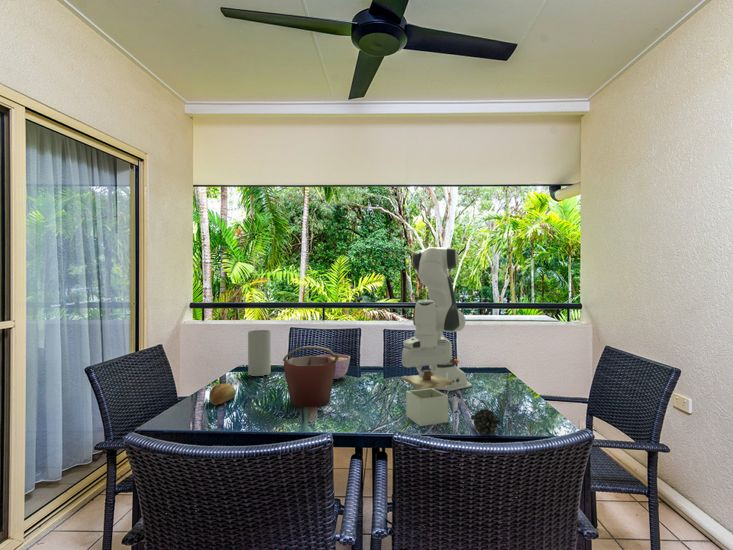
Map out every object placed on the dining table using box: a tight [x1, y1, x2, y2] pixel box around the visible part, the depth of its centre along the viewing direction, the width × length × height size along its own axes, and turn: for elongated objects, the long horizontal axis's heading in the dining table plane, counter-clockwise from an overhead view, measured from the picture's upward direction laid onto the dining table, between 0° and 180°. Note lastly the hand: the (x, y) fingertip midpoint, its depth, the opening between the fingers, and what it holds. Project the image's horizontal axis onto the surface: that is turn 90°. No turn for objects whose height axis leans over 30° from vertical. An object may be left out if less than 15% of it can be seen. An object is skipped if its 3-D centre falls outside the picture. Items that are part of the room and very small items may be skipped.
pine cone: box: [470, 408, 501, 435], centre depth 149 cm, size 9×8×15 cm
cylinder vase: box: [247, 329, 272, 377], centre depth 237 cm, size 12×12×25 cm
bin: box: [405, 388, 449, 427], centre depth 161 cm, size 12×12×10 cm
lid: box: [402, 369, 452, 390], centre depth 161 cm, size 14×14×5 cm
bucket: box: [282, 345, 339, 409], centre depth 183 cm, size 24×22×25 cm
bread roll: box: [209, 383, 236, 406], centre depth 186 cm, size 10×15×8 cm, turn 172°
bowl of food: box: [318, 353, 351, 380], centre depth 227 cm, size 20×20×12 cm
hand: (426, 376), depth 161 cm, fingers closed on lid, 3 cm apart
